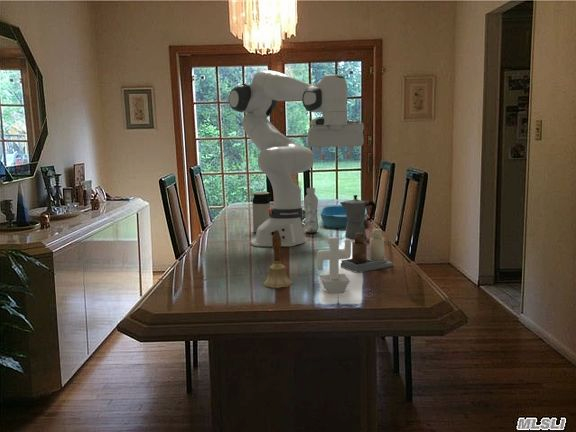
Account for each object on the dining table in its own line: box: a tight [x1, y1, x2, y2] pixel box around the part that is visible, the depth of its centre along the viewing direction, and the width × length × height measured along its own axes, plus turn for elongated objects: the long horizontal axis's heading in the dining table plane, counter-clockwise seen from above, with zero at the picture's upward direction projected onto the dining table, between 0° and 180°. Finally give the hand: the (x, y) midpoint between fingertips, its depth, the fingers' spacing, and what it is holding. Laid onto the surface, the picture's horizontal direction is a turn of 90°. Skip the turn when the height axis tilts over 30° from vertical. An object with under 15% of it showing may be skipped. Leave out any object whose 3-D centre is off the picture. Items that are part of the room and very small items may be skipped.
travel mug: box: [251, 191, 271, 233], centre depth 237 cm, size 8×8×18 cm
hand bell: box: [263, 230, 293, 289], centre depth 149 cm, size 8×8×16 cm
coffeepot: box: [339, 194, 377, 240], centre depth 217 cm, size 15×9×18 cm, turn 68°
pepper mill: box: [351, 233, 368, 264], centre depth 166 cm, size 5×5×10 cm
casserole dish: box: [320, 204, 368, 229], centre depth 256 cm, size 37×22×7 cm, turn 173°
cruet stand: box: [340, 228, 394, 273], centre depth 167 cm, size 15×9×12 cm, turn 119°
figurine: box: [316, 236, 352, 294], centre depth 141 cm, size 7×9×15 cm
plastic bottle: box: [303, 187, 319, 234], centre depth 231 cm, size 6×7×20 cm
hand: (335, 159), depth 186 cm, fingers open, 8 cm apart
